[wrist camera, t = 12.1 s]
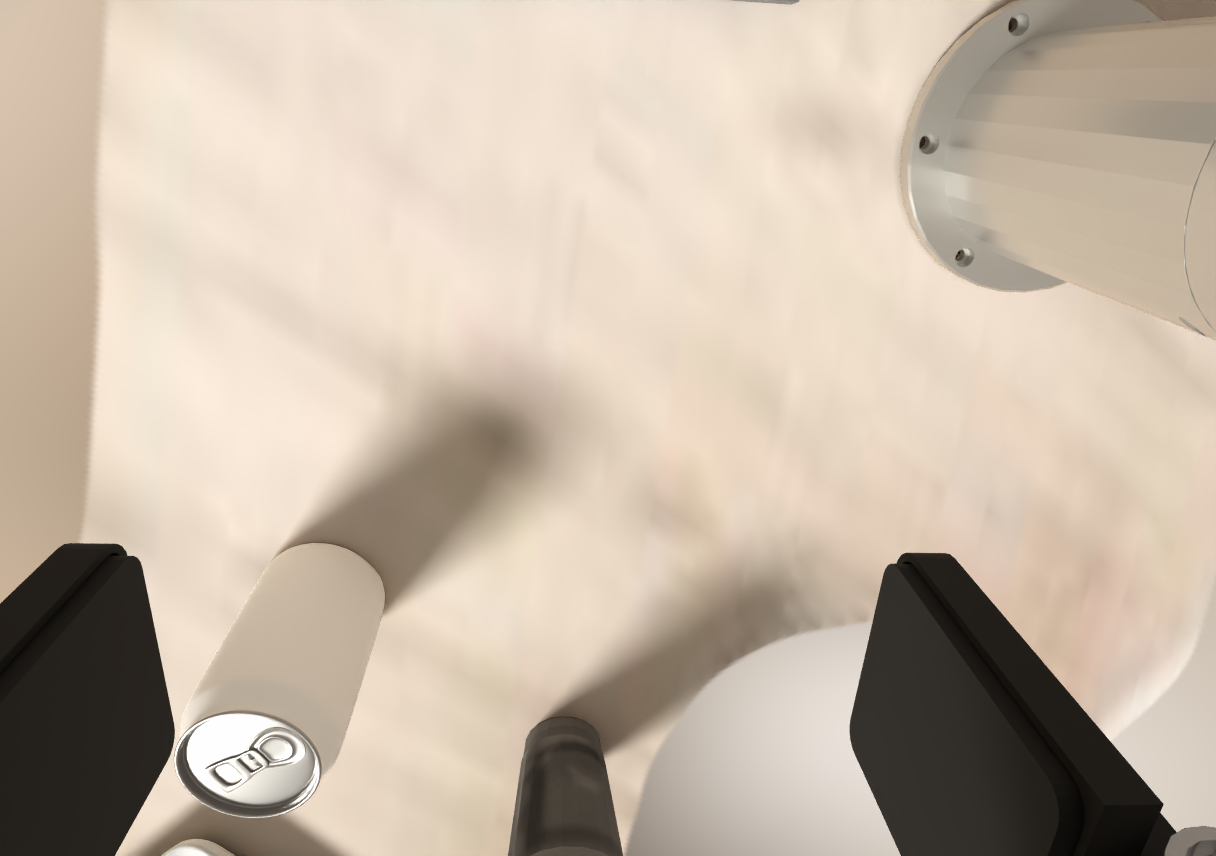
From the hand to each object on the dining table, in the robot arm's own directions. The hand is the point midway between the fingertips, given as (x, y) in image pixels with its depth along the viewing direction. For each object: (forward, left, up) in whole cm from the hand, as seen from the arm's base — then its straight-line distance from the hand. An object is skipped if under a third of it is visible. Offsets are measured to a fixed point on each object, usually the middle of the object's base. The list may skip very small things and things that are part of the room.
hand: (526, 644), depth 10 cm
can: (+11, +19, -28) cm, 36 cm away
